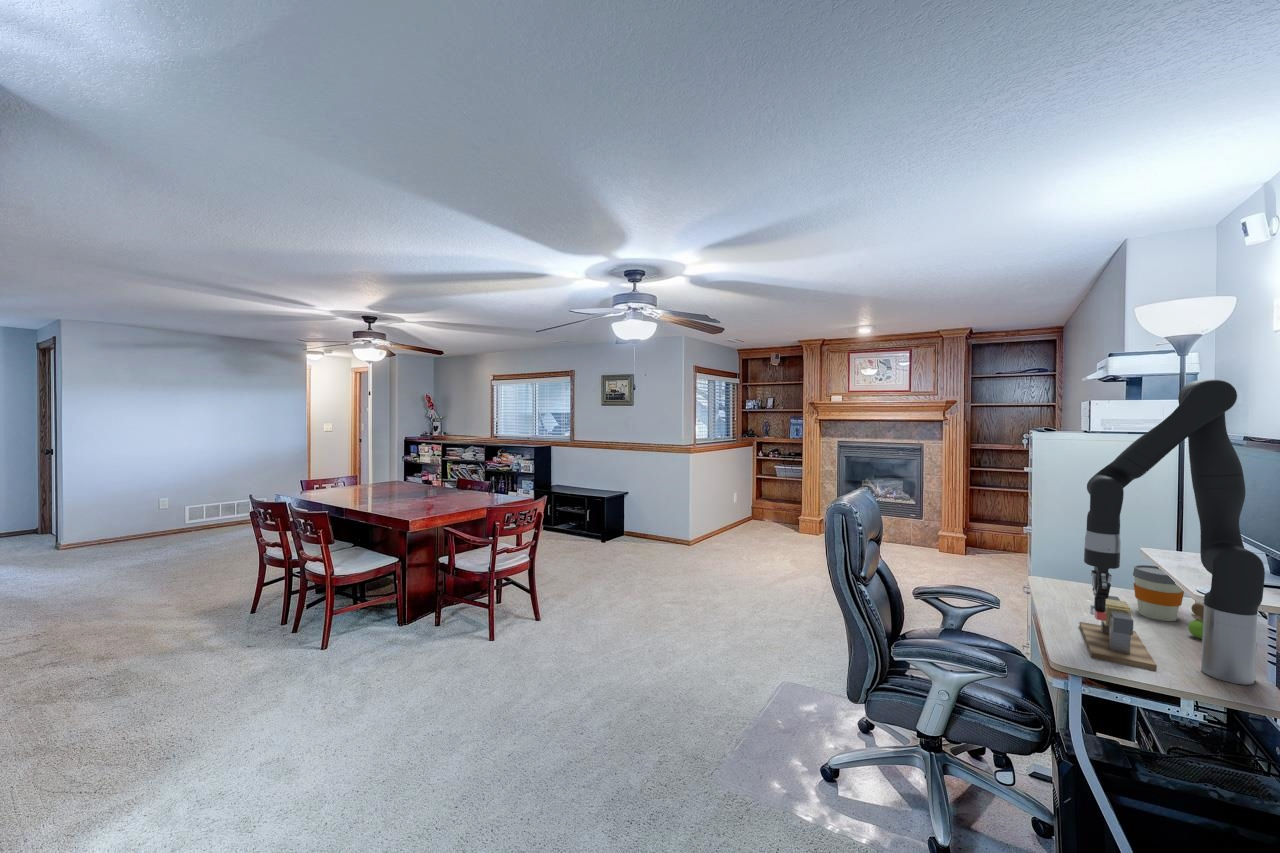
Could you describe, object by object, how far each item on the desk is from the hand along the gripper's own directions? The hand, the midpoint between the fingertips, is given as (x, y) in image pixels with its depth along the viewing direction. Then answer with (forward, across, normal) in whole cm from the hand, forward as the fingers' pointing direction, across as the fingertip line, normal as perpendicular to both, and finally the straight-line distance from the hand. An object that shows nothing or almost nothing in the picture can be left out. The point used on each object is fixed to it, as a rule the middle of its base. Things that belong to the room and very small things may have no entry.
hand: (1099, 610), depth 152 cm
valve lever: (+2, +9, 0) cm, 10 cm away
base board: (+12, +8, -5) cm, 15 cm away
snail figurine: (+12, +30, -28) cm, 42 cm away
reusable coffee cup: (+12, +47, -21) cm, 53 cm away
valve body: (+10, +8, -5) cm, 14 cm away
